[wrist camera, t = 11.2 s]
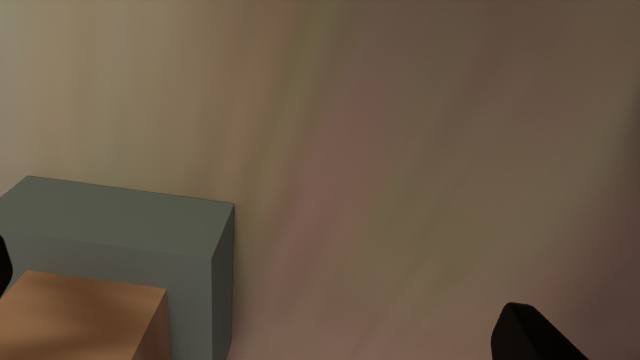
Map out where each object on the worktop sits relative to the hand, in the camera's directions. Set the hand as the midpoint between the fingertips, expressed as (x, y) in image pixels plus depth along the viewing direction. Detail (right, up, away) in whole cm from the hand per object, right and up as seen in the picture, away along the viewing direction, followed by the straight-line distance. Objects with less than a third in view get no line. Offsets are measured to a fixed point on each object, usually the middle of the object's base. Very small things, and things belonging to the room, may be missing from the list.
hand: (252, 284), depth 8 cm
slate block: (-8, -3, +16) cm, 19 cm away
